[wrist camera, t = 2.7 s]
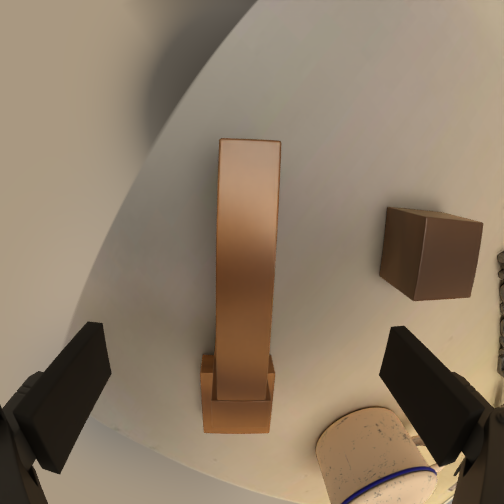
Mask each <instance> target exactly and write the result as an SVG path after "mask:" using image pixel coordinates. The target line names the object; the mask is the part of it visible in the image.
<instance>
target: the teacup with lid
mask: <svg viewBox="0 0 504 504" xmlns="http://www.w3.org/2000/svg"><path fill="white" fill-rule="evenodd" d="M419 445H423V446H425V444H424V442H423V441H422V439H421V438H420V436H419V435H418V436H413V437H410V435H409V434H408V432H407V431H406V429H405V428H404V426H403V424H402V423H401V421H400V420H399V418H398V417H397V415H396V414H395V413H394V412H392V411H390V410H388V409H385V408H367V409H362V410H359V411H356V412H353V413H351V414H348V415H346V416H344V417H343V418H341V419H339V420H338V421H336V422H335V423H333V424H332V425H331V426H330V427H329V428H328V429H327V430H326V431H325V432H324V433H323V434H322V436H321V437H320V439H319V441H318V443H317V446H316V455H317V459H318V462H319V465H320V469H321V472H322V475H323V479H324V482H325V485H326V489H327V492H328V495H329V498H330V502H331V504H423V503H425V502H426V501H427V500H428V498H429V497H430V496H431V495H432V493H433V492H434V490H435V488H436V486H437V472H439V471H441V470H442V469H443V468H444V467H445V466H442V467H439V466H438V465H437V463H436V464H433V465H431V466H428V464H427V462H426V461H425V459H424V458H423V456H422V454H421V453H420V451H419V450H418V448H417V446H419Z"/></svg>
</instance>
